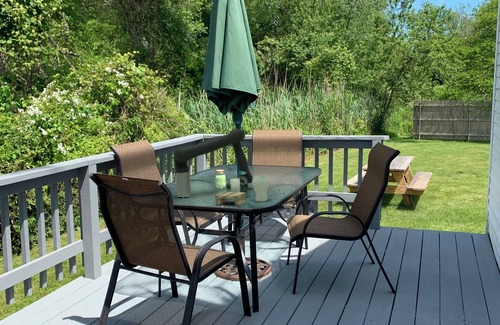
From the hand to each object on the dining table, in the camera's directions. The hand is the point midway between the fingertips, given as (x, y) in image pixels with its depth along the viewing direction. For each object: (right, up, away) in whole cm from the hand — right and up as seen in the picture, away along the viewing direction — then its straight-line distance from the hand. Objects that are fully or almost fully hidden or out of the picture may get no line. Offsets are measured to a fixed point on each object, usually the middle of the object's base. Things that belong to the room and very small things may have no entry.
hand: (235, 187), depth 329 cm
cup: (+17, -8, -7) cm, 20 cm away
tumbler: (+1, -7, +2) cm, 8 cm away
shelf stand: (-2, -9, -12) cm, 15 cm away
